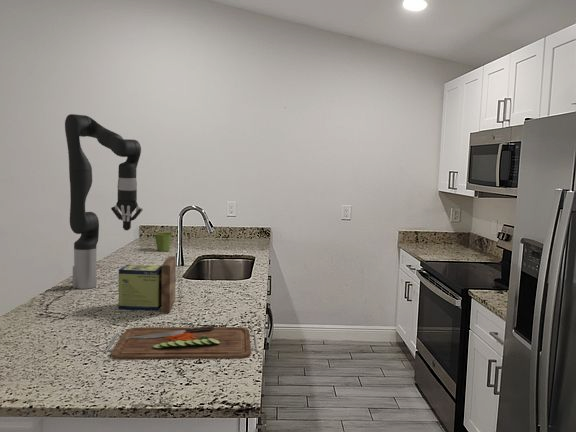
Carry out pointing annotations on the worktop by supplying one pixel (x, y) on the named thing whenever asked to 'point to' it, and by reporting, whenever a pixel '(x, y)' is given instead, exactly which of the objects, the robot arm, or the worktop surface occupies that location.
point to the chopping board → (183, 343)
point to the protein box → (140, 287)
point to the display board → (168, 284)
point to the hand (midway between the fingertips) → (126, 230)
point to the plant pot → (163, 241)
